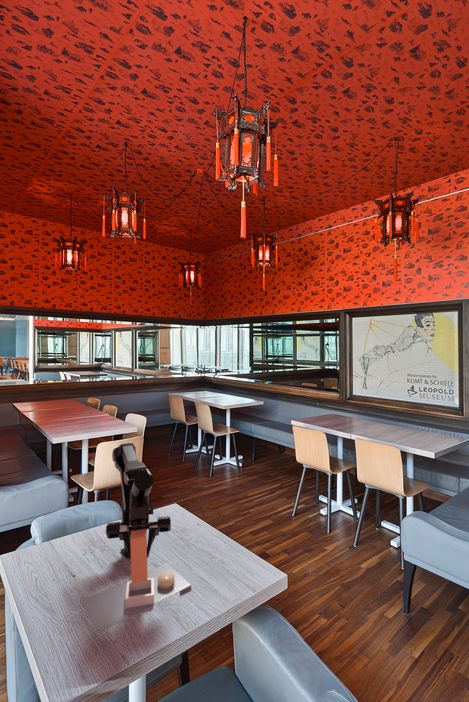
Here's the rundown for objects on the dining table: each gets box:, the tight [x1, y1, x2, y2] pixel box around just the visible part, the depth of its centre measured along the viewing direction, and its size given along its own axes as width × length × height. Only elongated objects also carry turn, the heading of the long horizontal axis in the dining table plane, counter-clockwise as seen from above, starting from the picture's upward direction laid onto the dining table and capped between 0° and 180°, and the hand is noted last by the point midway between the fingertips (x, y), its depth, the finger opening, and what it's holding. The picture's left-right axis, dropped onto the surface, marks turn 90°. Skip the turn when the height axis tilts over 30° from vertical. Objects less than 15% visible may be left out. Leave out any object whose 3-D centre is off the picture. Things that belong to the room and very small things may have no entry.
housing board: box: [80, 562, 192, 633], centre depth 110 cm, size 15×28×4 cm, turn 130°
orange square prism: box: [130, 529, 149, 584], centre depth 108 cm, size 4×4×13 cm
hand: (139, 558), depth 107 cm, fingers closed on orange square prism, 4 cm apart
